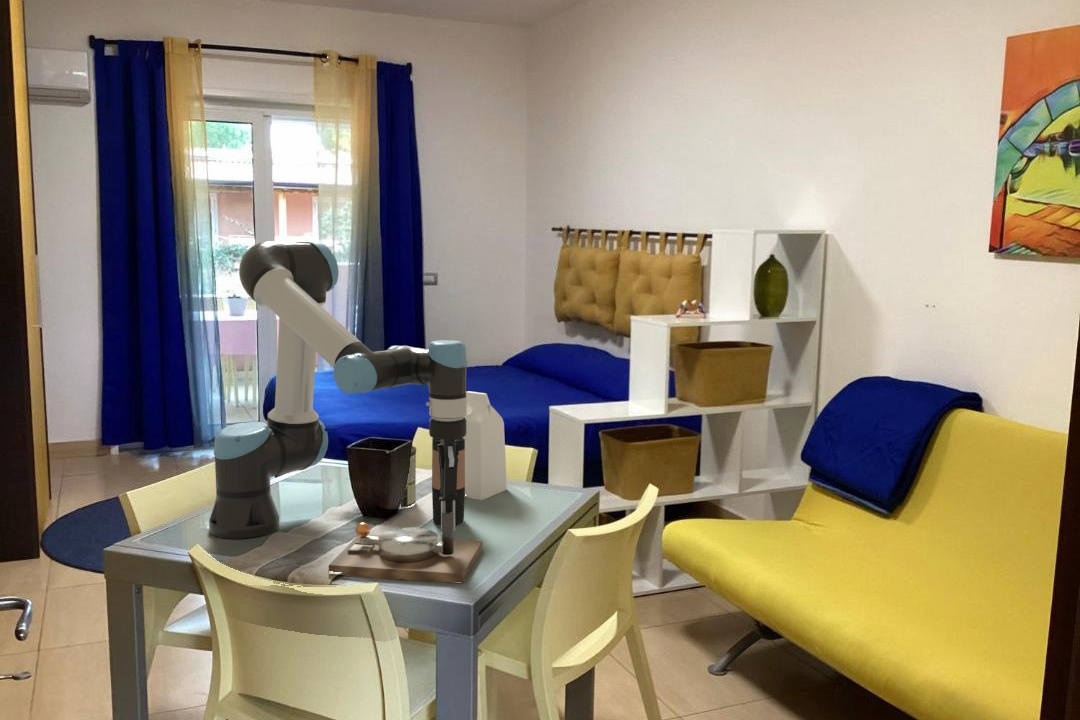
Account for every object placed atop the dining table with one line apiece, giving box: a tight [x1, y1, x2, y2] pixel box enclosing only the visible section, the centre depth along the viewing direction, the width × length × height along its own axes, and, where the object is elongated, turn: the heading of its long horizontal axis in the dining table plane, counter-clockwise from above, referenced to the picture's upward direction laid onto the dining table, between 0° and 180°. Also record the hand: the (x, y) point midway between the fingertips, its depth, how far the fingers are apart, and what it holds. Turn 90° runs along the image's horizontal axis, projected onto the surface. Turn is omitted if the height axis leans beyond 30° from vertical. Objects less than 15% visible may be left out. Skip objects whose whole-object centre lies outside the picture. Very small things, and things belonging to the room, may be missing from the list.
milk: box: [463, 390, 508, 501], centre depth 241 cm, size 12×12×26 cm
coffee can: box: [401, 445, 417, 508], centre depth 229 cm, size 10×10×14 cm
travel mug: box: [431, 437, 466, 527], centre depth 216 cm, size 8×8×20 cm
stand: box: [327, 533, 483, 584], centre depth 191 cm, size 27×19×3 cm
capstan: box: [355, 511, 455, 562], centre depth 190 cm, size 21×12×9 cm, turn 76°
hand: (448, 529), depth 192 cm, fingers closed
